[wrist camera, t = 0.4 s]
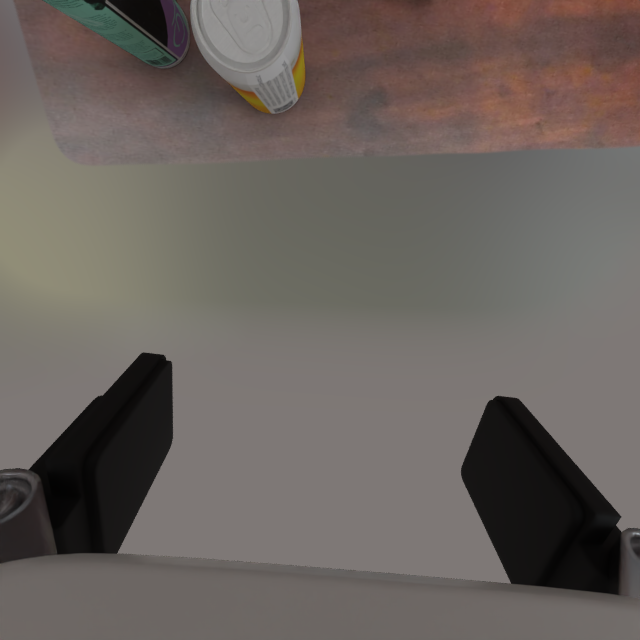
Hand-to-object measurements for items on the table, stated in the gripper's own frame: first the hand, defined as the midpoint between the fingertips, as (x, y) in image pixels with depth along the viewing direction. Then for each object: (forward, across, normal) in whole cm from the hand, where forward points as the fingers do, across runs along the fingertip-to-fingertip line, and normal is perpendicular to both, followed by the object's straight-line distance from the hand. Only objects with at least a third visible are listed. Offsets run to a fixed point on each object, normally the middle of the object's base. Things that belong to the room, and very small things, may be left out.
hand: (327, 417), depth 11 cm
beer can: (+31, +6, -13) cm, 34 cm away
